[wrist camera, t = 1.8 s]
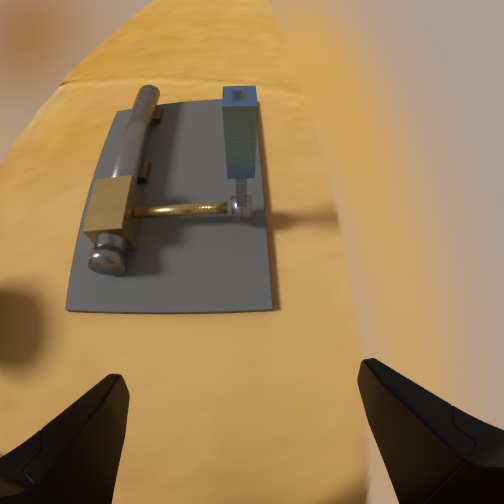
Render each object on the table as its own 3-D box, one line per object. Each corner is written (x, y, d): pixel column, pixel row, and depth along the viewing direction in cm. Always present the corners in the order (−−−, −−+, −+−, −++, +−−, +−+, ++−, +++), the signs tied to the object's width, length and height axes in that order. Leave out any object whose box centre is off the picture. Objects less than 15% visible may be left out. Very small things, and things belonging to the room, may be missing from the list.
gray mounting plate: (271, 310, 23) (272, 309, 23) (68, 311, 23) (65, 309, 22) (253, 101, 34) (254, 98, 34) (118, 114, 34) (117, 111, 33)
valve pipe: (229, 274, 24) (226, 253, 20) (98, 277, 23) (76, 258, 20) (228, 98, 34) (227, 73, 30) (139, 107, 33) (132, 83, 30)
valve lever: (252, 224, 25) (257, 105, 14) (231, 224, 25) (222, 106, 14) (251, 204, 26) (255, 85, 15) (230, 204, 25) (222, 86, 15)
